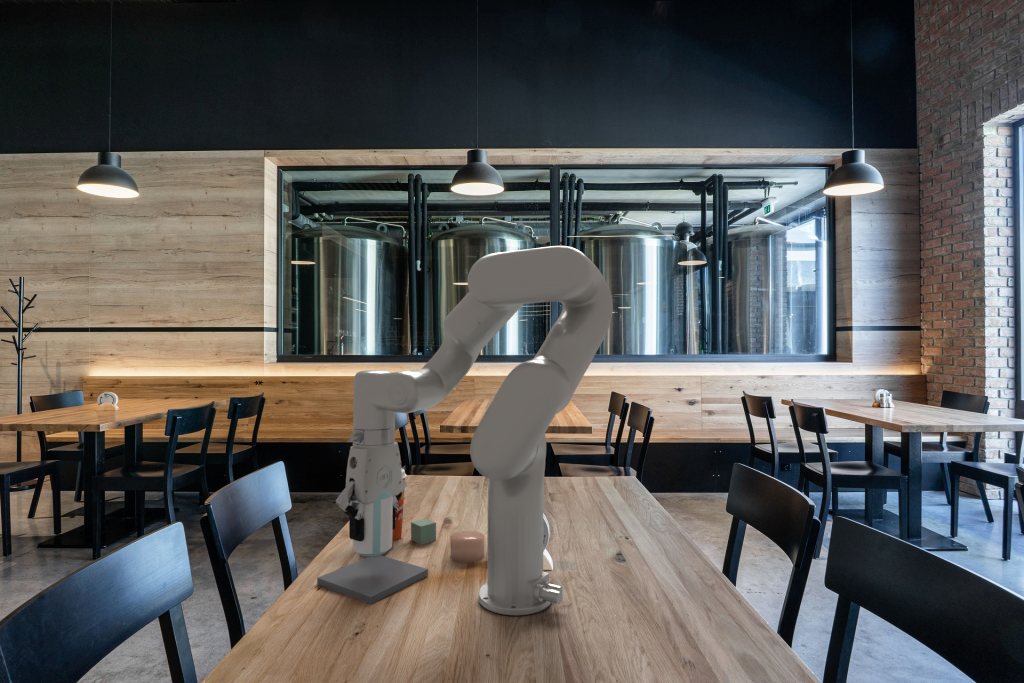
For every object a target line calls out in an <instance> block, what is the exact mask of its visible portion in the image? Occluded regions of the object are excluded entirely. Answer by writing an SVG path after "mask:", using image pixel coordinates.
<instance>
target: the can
mask: <svg viewBox="0 0 1024 683" xmlns="http://www.w3.org/2000/svg"><path fill="white" fill-rule="evenodd" d="M384 489H385V488H384ZM355 499H357V497H356V498H355ZM358 505H359V504H357V503H356V508H355V509H356V510H357V508H358ZM392 515H393V496H392V494H391V493H389V492H384V493H382V494H381V495H379V497H378V498H377V499H376V501H375V502H374V503H371V504H365V509H364V511H363V514H362V517H361V518H363V519H364V540H363V541H361V542H360V541H356V540H353V539H352V551H353V552H355V553H356V554H358V555H359V556H360V555H362V556H361V557H369V556H377V555H381V554H384V553H386V552H387V551H388V550H389V549H390V548H391V547H392Z"/></svg>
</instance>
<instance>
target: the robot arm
mask: <svg viewBox="0 0 1024 683" xmlns="http://www.w3.org/2000/svg"><path fill="white" fill-rule="evenodd" d="M467 287H468V288H467V289H468V292H467V293H466V294H465V296H464V297H462V299H461V300H460V301H459V302H458V304H456V306H454V307H453V309H452V310H451V311H450V312H449V313H448V314H447V315H446V316H445V318H444V320H443V329H444V338H443V341H442V343H441V345H440V347H439V348H438V349H437V351H436V352H435V353H434V355H433V356H432V357H431V358H430V359H429V360H428V361H427V362H426V364H424V366H422V367H421V368H419V369H418V368H417V369H409V370H402V371H393V372H392V371H390V370H383V369H382V370H381V369H380V370H379V369H378V370H377V369H370V370H369V369H367V370H360V371H357V372H356V373H355V375H354V376H353V402H352V403H353V406H352V407H353V410H352V411H353V412H352V413H353V416H352V417H353V418H352V421H353V422H352V423H353V424H352V425H353V426H352V434H349V441H350V442H351V443H352V445H351V446H350V449H349V454H348V458H347V466H346V477H345V488H344V489H343V490H342V491H341V493H340V494H339V495H338V496H337V498H336V499H335V503H336V504H337V506H338V507H339V508H340V509H341V511H342V512H343V513H344V514H345V516H346V517H347V518H349V520H348V521H349V523H348V524H349V527H348V528H349V532H348V533H349V535H348V536H349V539H350V540H352V541H353V540H356V541H360V542H361V541H363V540H364V519H363V518H361V517H362V514H363V511H364V509H365V504H371V503H374V502H375V501H376V499H377V498H378V497H379V495H381V494H382V493H384V492H389V493H391V494H392V496H393V515H392V530H393V529H395V508H396V507H397V506H398V501H399V499H400V498H401V496H402V492H403V490H404V491H405V488H406V486H407V481H406V480H405V481H404V480H403V479H402V470H401V468H402V460H401V453H400V448H399V444H398V442H396V440H395V439H396V413H398V414H410V413H415V412H419V411H421V410H426V409H427V410H428V409H430V408H434V407H435V406H437V405H439V404H440V403H441V402H443V401H444V399H446V398H447V397H448V396H449V394H451V393H452V391H453V390H454V389H455V388H456V387H457V386H458V385H459V384H460V383H461V381H463V379H464V378H465V377H466V376H467V374H468V373H469V371H470V370H471V368H472V367H473V366H474V364H475V362H476V360H477V358H478V357H479V354H480V352H482V350H484V348H485V347H486V346H487V344H488V343H489V342H490V341H492V339H493V338H494V337H495V336H496V335H497V334H498V333H499V331H500V330H501V329H502V328H503V327H504V326H505V325H506V323H508V321H509V320H510V319H512V318H513V316H515V314H516V313H517V312H518V310H520V309H521V307H522V306H523V305H526V304H527V305H528V304H538V303H554V302H559V303H561V305H562V309H561V313H560V315H559V316H558V318H557V320H556V321H555V323H554V324H553V325H552V326H551V328H550V330H549V332H548V334H547V336H546V337H545V340H544V341H543V343H542V345H541V346H540V348H539V349H538V351H537V353H536V354H535V356H534V357H533V358H532V359H529V360H526V361H523V362H521V363H519V364H518V365H516V366H515V367H514V368H513V369H512V370H510V372H509V373H508V374H507V375H506V377H505V379H504V380H503V382H501V383H502V384H501V385H500V386H499V388H498V390H497V391H496V393H495V395H494V397H493V399H492V401H491V402H490V404H489V406H488V407H487V410H486V411H485V412H484V414H483V416H482V418H481V419H480V422H479V423H478V426H477V427H476V429H475V430H474V433H473V435H472V438H471V440H470V441H471V442H470V448H469V450H470V451H469V452H470V459H471V462H472V465H473V466H474V468H475V470H476V471H478V473H479V474H480V475H481V476H483V477H485V478H486V479H488V488H487V582H485V583H484V584H483V585H482V586H481V587H480V588H479V589H478V595H477V596H478V602H479V604H480V605H481V606H482V607H483V608H484V609H485V610H488V611H491V612H492V613H495V614H499V615H505V616H526V615H532V614H537V613H539V612H542V611H544V610H546V609H547V608H548V607H549V606H550V605H551V604H554V605H555V604H556V605H558V606H559V605H561V604H562V600H563V586H561V585H559V584H553V583H551V581H550V572H546V571H544V498H545V497H544V492H545V491H544V490H545V488H544V485H545V484H544V483H545V470H546V457H547V439H546V438H547V437H546V432H547V430H548V428H549V426H550V425H551V424H552V422H553V420H554V418H555V417H556V415H558V414H559V413H560V412H562V411H563V410H564V409H566V407H567V406H568V405H569V403H570V402H571V400H572V397H573V396H574V394H575V392H576V389H577V387H578V386H579V384H580V383H581V381H582V379H583V377H584V375H585V374H586V372H587V370H588V369H589V367H590V365H591V363H592V361H593V359H594V357H595V356H596V354H597V351H598V350H599V349H600V346H601V345H602V344H603V341H604V339H605V338H606V336H607V333H608V330H609V329H610V325H611V322H612V316H613V311H614V310H613V305H614V303H613V298H612V297H613V296H612V293H611V290H610V286H609V285H608V283H607V280H606V279H605V277H604V276H603V274H602V272H601V271H600V269H599V268H598V267H597V266H596V265H595V263H594V262H593V261H592V260H591V259H590V258H589V257H588V256H586V254H584V253H583V252H582V251H580V250H579V249H576V248H575V247H572V246H567V245H552V246H543V247H536V248H527V249H520V250H510V251H508V250H507V251H503V252H502V251H501V252H500V251H499V252H494V253H489V254H486V255H484V256H483V257H480V258H479V259H478V260H477V261H475V262H474V263H473V265H472V266H471V267H470V270H469V272H468V274H467ZM384 488H385V489H384ZM356 497H357V499H355V498H356ZM349 501H350V502H349ZM356 503H357V504H359V505H358V508H357V510H356V509H355V508H356Z"/></svg>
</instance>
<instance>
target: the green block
mask: <svg viewBox="0 0 1024 683" xmlns="http://www.w3.org/2000/svg"><path fill="white" fill-rule="evenodd" d="M410 540H412V542H415V543H417V544H419V545H423V544H427V543H431V542H435V541H437V522H436V521H433V520H432V519H431V520H430V519H428V518H427V517H426V518H422V519H418V520H413V521H411V522H410Z"/></svg>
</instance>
